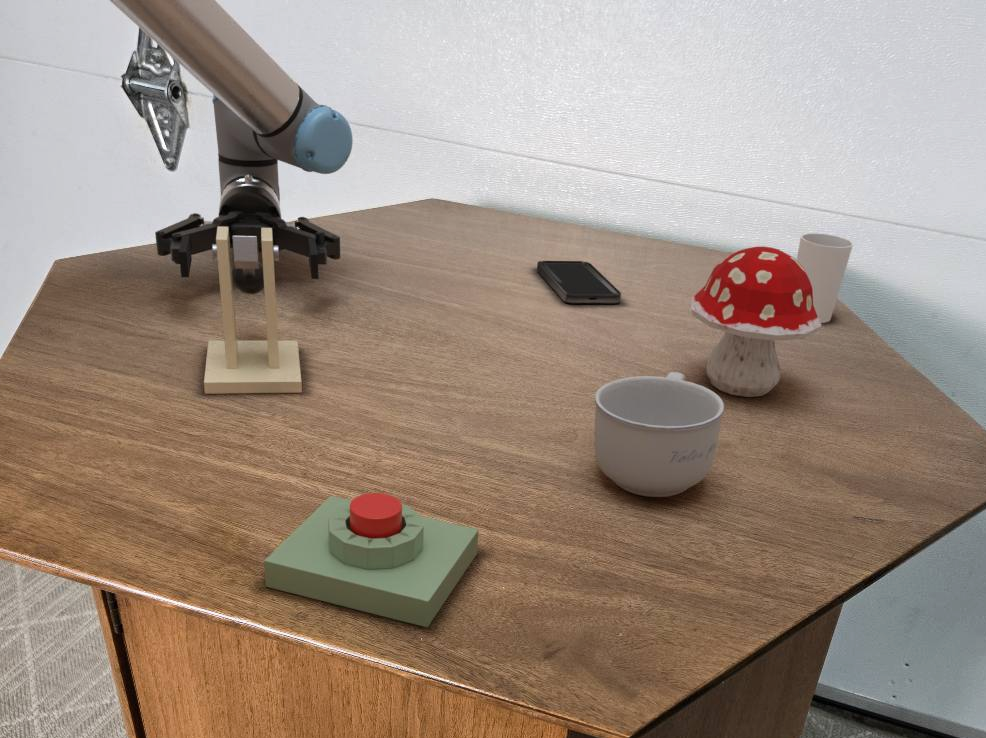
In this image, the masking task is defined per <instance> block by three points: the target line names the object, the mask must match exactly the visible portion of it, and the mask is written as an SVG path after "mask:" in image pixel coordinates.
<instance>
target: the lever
mask: <svg viewBox="0 0 986 738" xmlns="http://www.w3.org/2000/svg"><path fill="white" fill-rule="evenodd" d="M232 238H233V248H232V253H233V254H232V255H233V264H234V266H233V268H232V280H233V285H234V286H235V287H236V289H237V290H238V291H240V292H241V293H244V294H247V295H256V294H259V293H261V292H262V291H263V290H264V276H263V263H262V262H260V260H259V253H258V242H257V236H232Z"/></svg>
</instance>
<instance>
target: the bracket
mask: <svg viewBox="0 0 986 738" xmlns="http://www.w3.org/2000/svg"><path fill="white" fill-rule="evenodd" d="M261 242H262V252H261V257H262V265H263V276H264V289H263V290H264V291H263V293H264V305H265V306H264V307H265V309H264V310H265V322H266V323H265V325H266V340H238V334H237V322H236V307H235V296H234V295H235V293H234V283H233V280H232V271H233V268H232V257H231V255H232V254H231V248H230V240H229V227H220V226H218V227H217V235H216V244H212V249H211V250H212V251H211V252H212V259H213V260H214V261H215V260H216V261H217V266H218V267H217V268H218V270H217V271H218V279H219V281H218V282H219V293H220V304H221V316H222V329H223V340H208V342H207V350H206V360H205V369H204V378H203V388H204V394H205V395H215V394H216V395H218V394H219V395H221V394H224V395H225V394H226V395H227V394H291V393H294V394H295V393H299V394H301V393H302V392H303V387H302V386H303V385H302V384H303V383H302V371H301V363H300V353H299V352H300V351H299V342H298V340H279V334H278V333H279V332H278V317H277V315H278V313H277V297H276V296H277V295H276V277H275V275H276V274H275V262H279V261H280V253H279V251H280V250H279V248H278V245H273V238H272V228H261Z"/></svg>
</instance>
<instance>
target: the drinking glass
mask: <svg viewBox="0 0 986 738" xmlns="http://www.w3.org/2000/svg"><path fill="white" fill-rule="evenodd" d="M853 247H854V243H853V242H852V241H851V240H849V239H847V238H844V237H841V236H837V235H832V234H828V233H827V234H826V233H818V232H813V233H812V232H811V233H809V232H808V233H804V234H802V235H800V239H799V244H798V249H797V255H796V260H797V261H798V262H799V263H800V264H801V265H802V267H803V268H804V269H805V272H806V274H807V276H808V278H809V280H810V283H811V285H812V291H813V305H814V308H815V310H816V312H817V314H818V317H819V320H820V323H821V324H823V323H828V322H830V321H831V319H832V316H833V313H834V309H835V306H836V303H837V299H838V296H839V293H840V289H841V286H842V283H843V279H844V276H845V273H846V271H847V270H846V269H847V266H848V263H849V259H850V256H851V254H852V253H851V252H852V250H853Z"/></svg>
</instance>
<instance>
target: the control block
mask: <svg viewBox="0 0 986 738" xmlns="http://www.w3.org/2000/svg"><path fill="white" fill-rule="evenodd" d="M352 500H353V499H349V498H343V497H339V496H334V495H330V496H329V497H327V498H326V499H325V500H324V501H323V503H322V504H321V505H319V506H318V507H317V508H316V509H315V510H314V511H313V512H312V513H311V514H310V515H309V516H308V517H307V518H306V519H304V521H303V522H302V523H301V524H299V526H298V527H297V528H295V530H294V531H293V532H291V534H289V536H288V537H286V539H284V541H282V542H281V543H280V544H279V545H278V546H277V547H276V548H275V549H274V550H273V551H272V552H271V553H270V554H269V555H268V556H267V557H266V558H265V559H264V560H263V565H264V576H265V579H264V581H265V587H266V588H269V589H273V590H278V591H281V592H284V593H290V594H293V595H296V596H301V597H305V598H309V599H313V600H316V601H319V602H325V603H328V604H332V605H336V606H341V607H344V608H349V609H353V610H356V611H359V612H364V613H368V614H372V615H376V616H380V617H384V618H388V619H392V620H395V621H399V622H404V623H407V624H410V625H416V626H419V627H423V628H429V626H430V625H431V623H432V621H433V620H434V619H435V617H436V616H437V614H438V613H439V612H440V610H441V609H442V607H443V605H444V604H445V602H446V601H447V599H448V598H449V597H450V595H451V594H452V592H453V591H454V589H455V587H456V586H457V584H458V583H459V582H460V580H461V579H462V577H463V576H464V574H465V573H466V571H467V570H468V568H469V567H470V565H471V563H473V561H474V559H475V558H476V556H477V555H478V544H479V528H473V527H470V526H467V525H466V526H465V525H461V524H456V523H452V522H448V521H443V520H439V519H436V518H435V519H434V518H430V517H426V516H421V515H422V514H420V513H419V512H417V511H416V510H414V509H413V508H411V507H410V506H408V505H406V504H405V503H401V504H402V529H401V531H400V532H399V533H398V534H396V535H393V536H391V537H388V538H376V539H370V538H366V537H362V536H358V535H355V534H354V533H353V532H352V531H351V529H350V503H351V501H352Z"/></svg>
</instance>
